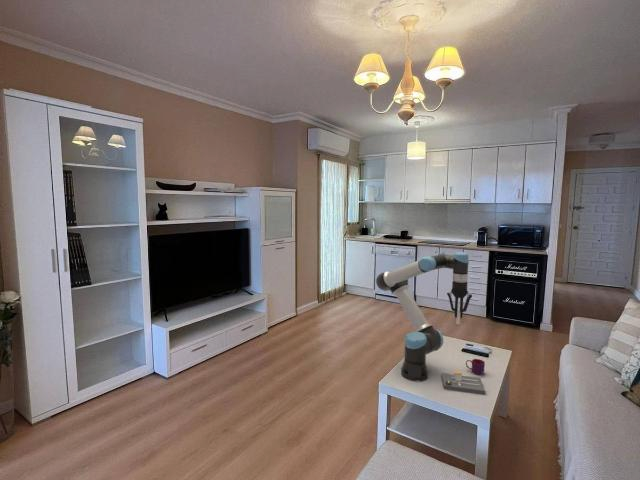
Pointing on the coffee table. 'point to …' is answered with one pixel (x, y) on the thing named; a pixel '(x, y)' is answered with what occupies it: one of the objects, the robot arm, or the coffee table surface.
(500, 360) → the coffee table surface
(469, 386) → the console
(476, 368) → the mug
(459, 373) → the fader
